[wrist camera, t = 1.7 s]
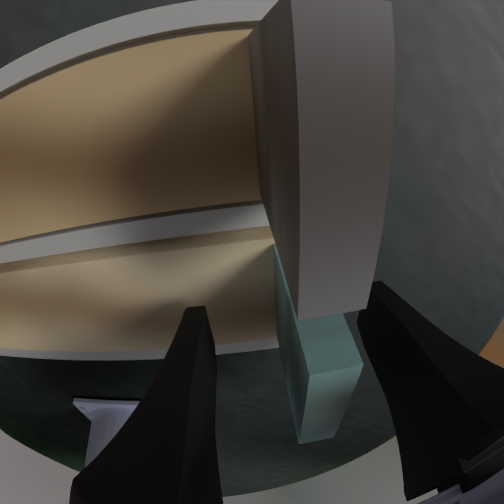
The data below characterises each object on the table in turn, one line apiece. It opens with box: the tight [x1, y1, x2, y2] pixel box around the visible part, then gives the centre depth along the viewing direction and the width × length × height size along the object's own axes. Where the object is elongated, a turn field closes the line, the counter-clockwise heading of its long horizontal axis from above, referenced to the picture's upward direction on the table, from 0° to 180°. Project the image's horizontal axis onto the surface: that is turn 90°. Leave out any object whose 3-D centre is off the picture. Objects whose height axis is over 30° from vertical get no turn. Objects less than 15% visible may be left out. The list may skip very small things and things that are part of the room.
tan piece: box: [0, 226, 363, 444], centre depth 9 cm, size 5×22×6 cm, turn 94°
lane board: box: [0, 0, 279, 360], centre depth 10 cm, size 14×24×2 cm, turn 94°
